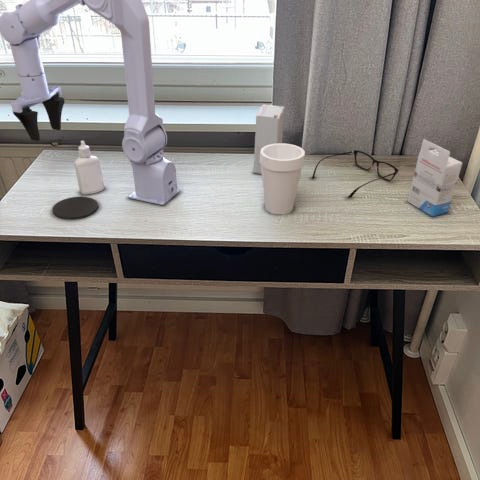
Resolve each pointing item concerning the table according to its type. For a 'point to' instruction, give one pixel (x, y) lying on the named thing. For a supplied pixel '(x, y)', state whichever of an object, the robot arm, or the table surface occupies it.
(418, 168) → the ink box
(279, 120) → the cosmetic box
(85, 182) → the eye dropper bottle
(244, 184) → the table surface
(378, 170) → the eyeglasses
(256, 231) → the table surface
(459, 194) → the table surface
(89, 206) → the coaster
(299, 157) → the foam cup
